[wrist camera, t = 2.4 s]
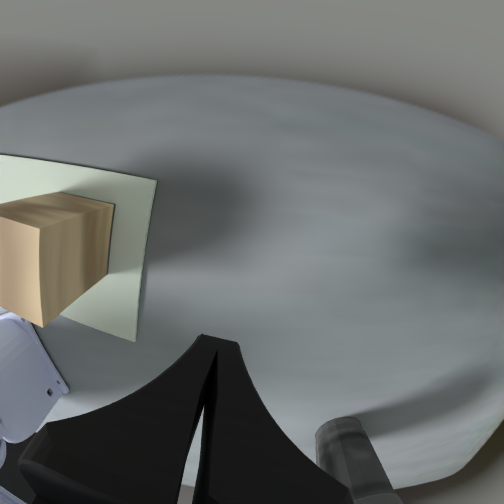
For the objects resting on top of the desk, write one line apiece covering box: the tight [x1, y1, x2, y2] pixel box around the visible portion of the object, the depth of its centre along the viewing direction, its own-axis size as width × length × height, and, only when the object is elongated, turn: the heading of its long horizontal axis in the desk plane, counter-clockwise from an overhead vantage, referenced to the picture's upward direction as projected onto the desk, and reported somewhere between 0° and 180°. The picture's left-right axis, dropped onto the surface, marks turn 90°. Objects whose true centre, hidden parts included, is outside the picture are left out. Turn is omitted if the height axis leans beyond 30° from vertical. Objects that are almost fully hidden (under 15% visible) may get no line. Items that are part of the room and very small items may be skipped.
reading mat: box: [0, 155, 157, 342], centre depth 19 cm, size 16×12×1 cm
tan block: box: [0, 192, 116, 328], centre depth 15 cm, size 5×5×8 cm
